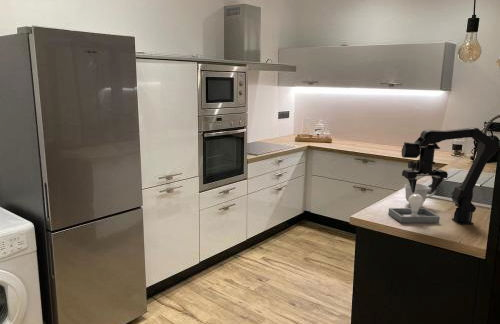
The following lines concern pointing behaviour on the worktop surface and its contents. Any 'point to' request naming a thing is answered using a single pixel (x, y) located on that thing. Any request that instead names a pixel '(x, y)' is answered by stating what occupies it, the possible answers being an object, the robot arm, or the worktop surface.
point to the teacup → (418, 191)
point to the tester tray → (405, 216)
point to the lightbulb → (415, 203)
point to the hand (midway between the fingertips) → (422, 192)
